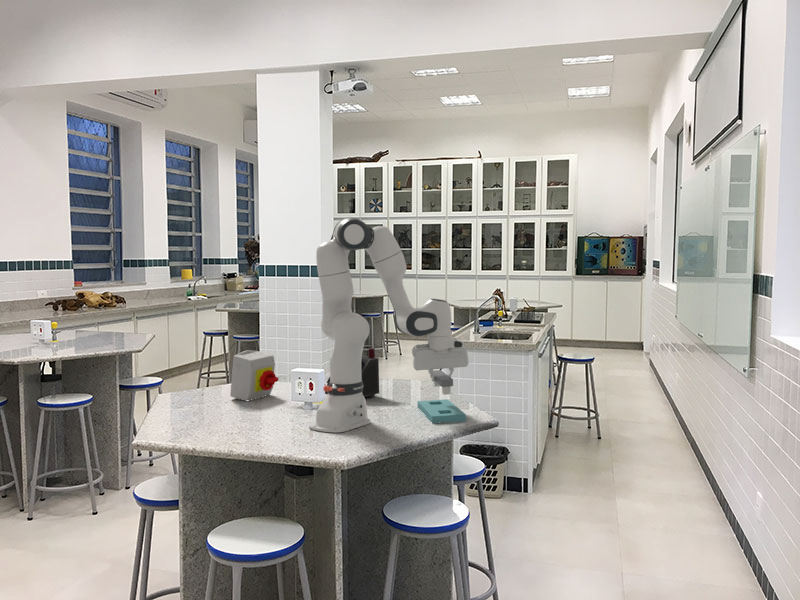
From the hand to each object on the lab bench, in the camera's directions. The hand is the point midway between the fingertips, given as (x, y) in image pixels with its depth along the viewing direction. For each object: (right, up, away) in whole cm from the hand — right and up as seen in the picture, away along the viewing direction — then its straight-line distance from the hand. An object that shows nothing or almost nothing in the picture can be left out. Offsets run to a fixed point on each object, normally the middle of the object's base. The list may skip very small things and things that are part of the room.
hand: (441, 380), depth 232 cm
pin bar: (0, -3, 0) cm, 3 cm away
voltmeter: (-35, -11, +32) cm, 49 cm away
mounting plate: (0, -12, +1) cm, 12 cm away
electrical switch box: (-75, -12, +34) cm, 83 cm away
